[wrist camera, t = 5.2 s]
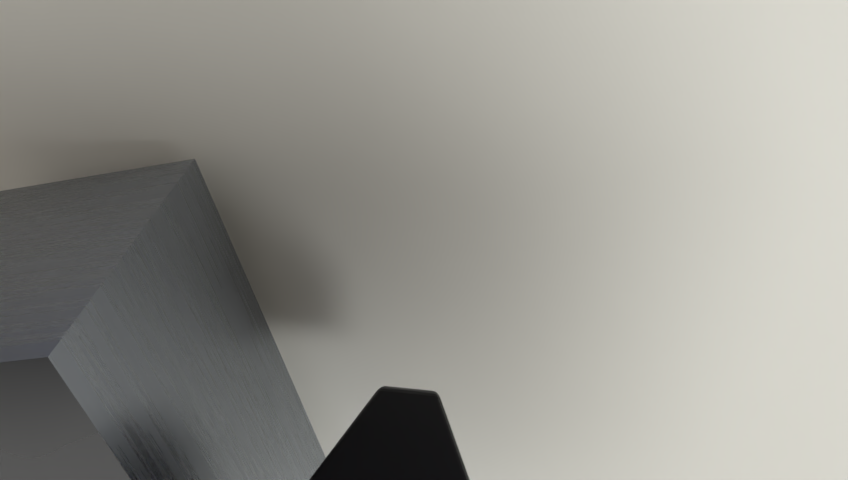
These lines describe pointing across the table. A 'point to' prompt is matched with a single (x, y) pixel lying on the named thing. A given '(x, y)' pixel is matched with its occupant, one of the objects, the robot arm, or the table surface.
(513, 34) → the board
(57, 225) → the bar
